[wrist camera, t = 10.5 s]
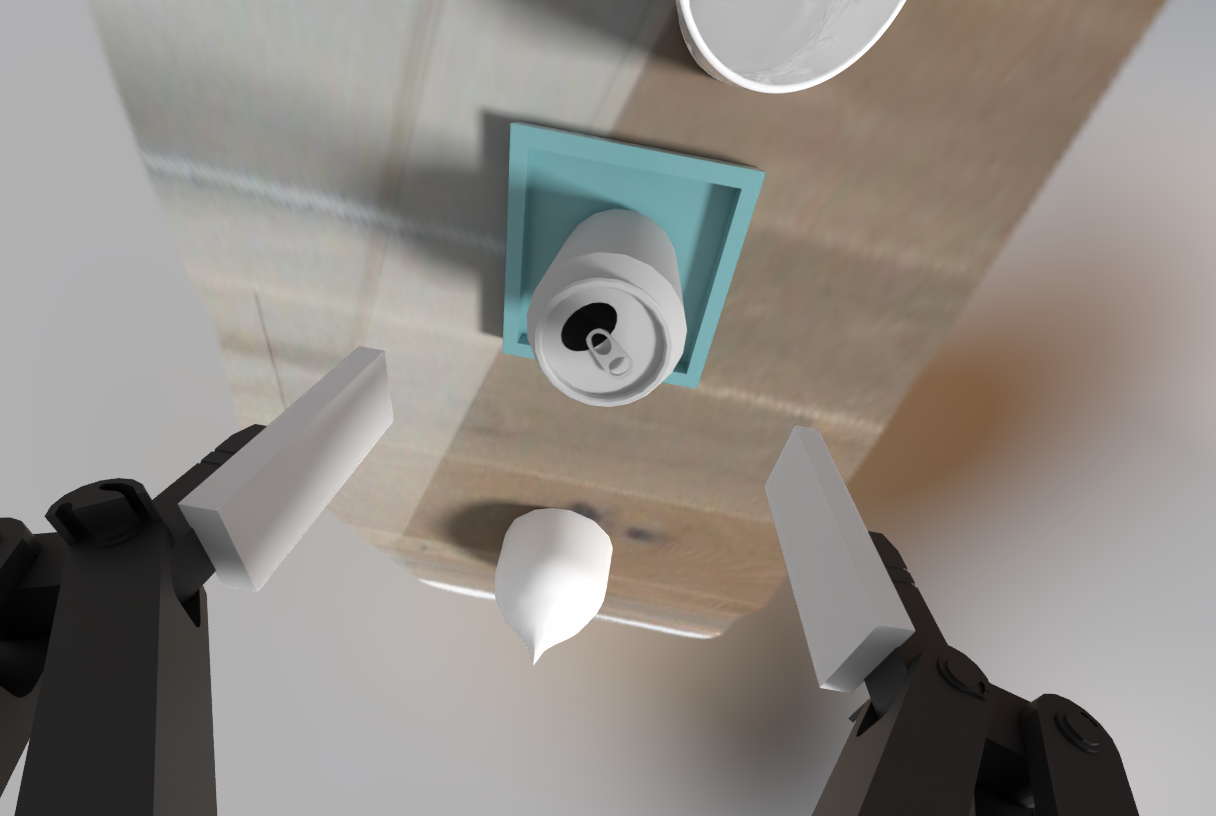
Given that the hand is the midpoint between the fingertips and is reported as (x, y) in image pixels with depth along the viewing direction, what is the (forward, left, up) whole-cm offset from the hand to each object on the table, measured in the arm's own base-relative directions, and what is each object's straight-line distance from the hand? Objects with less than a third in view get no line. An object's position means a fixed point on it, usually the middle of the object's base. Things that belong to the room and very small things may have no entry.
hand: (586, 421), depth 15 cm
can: (0, 0, -18) cm, 18 cm away
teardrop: (+30, -1, -19) cm, 35 cm away
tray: (0, 0, -18) cm, 18 cm away
